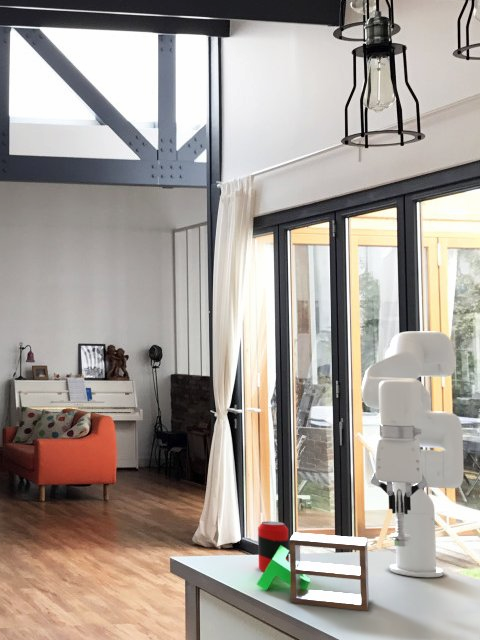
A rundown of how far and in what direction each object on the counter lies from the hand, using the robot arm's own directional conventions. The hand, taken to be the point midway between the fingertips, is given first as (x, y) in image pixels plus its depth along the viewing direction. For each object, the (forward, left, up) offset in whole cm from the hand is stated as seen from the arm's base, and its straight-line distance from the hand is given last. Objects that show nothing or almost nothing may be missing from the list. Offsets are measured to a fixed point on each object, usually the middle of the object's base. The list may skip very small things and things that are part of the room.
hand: (399, 512), depth 235 cm
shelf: (+11, -15, -20) cm, 27 cm away
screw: (0, 0, -8) cm, 8 cm away
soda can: (-19, -31, -20) cm, 42 cm away
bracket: (-4, -26, -20) cm, 33 cm away
